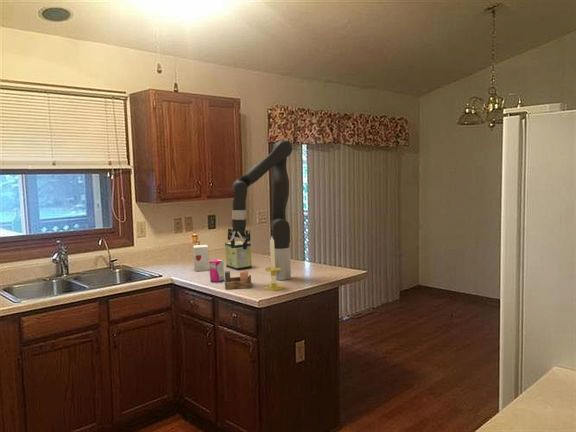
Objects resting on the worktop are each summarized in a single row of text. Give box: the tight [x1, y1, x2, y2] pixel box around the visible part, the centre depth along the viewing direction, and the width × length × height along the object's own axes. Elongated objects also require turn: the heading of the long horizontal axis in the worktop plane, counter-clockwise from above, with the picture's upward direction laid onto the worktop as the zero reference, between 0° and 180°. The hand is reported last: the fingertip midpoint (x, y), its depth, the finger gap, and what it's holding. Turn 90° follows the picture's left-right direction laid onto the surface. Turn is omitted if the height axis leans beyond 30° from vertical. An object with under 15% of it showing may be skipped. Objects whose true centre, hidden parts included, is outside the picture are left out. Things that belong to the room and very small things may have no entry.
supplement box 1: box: [193, 244, 210, 272], centre depth 309 cm, size 9×9×15 cm
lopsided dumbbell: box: [224, 269, 249, 283], centre depth 261 cm, size 12×5×6 cm, turn 93°
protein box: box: [224, 240, 253, 271], centre depth 311 cm, size 10×16×16 cm
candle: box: [264, 236, 285, 291], centre depth 253 cm, size 10×10×27 cm
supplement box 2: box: [209, 259, 225, 283], centre depth 275 cm, size 6×6×12 cm
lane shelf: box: [224, 274, 252, 290], centre depth 261 cm, size 13×12×4 cm
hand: (238, 248), depth 266 cm, fingers open, 8 cm apart
